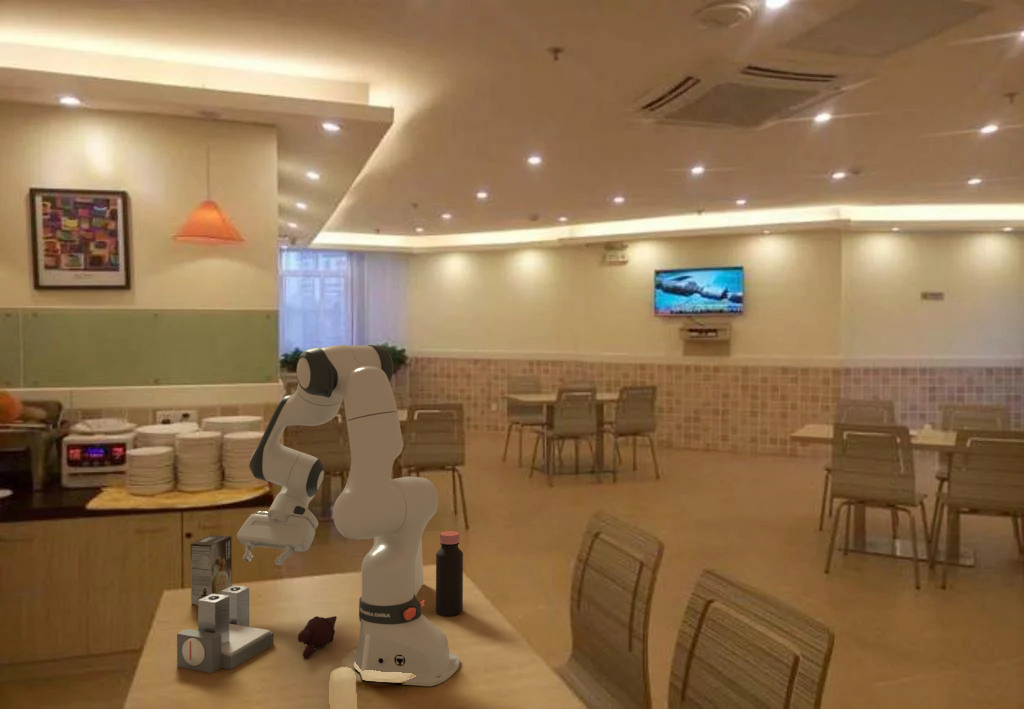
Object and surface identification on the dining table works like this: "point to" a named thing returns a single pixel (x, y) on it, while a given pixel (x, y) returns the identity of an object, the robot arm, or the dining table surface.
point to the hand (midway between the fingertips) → (261, 562)
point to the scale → (220, 647)
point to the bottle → (449, 575)
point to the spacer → (238, 604)
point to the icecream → (317, 634)
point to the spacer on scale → (214, 615)
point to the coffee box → (210, 566)
